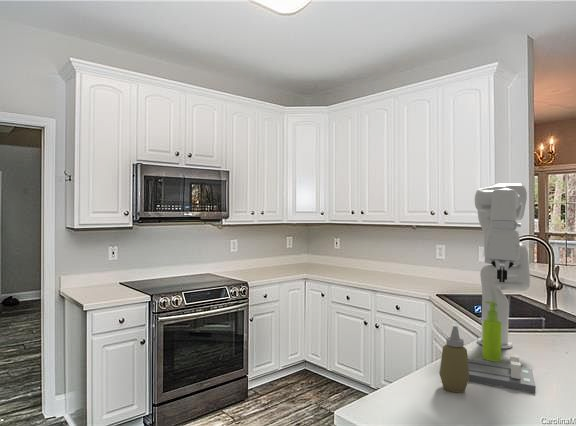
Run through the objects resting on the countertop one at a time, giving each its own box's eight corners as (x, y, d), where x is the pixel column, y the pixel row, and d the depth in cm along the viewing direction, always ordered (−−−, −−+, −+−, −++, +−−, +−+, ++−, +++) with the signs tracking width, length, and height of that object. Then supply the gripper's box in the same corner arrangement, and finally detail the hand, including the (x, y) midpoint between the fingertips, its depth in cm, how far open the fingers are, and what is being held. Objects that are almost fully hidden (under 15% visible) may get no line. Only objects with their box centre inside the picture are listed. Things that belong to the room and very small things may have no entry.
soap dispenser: (493, 355, 154) (494, 300, 154) (504, 361, 147) (505, 304, 147) (478, 354, 154) (479, 300, 154) (487, 361, 147) (488, 304, 147)
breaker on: (509, 366, 135) (510, 353, 135) (518, 367, 134) (519, 355, 134) (510, 369, 132) (510, 356, 132) (519, 370, 131) (519, 357, 131)
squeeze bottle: (433, 385, 124) (434, 324, 124) (454, 382, 127) (455, 322, 127) (453, 396, 116) (455, 331, 116) (475, 392, 119) (476, 329, 120)
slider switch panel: (457, 362, 144) (458, 356, 144) (531, 375, 134) (531, 368, 134) (453, 378, 130) (453, 371, 130) (535, 393, 120) (535, 385, 120)
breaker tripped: (510, 374, 128) (511, 361, 128) (520, 376, 127) (520, 362, 127) (511, 377, 125) (511, 364, 125) (520, 379, 124) (520, 365, 124)
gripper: (528, 227, 139) (527, 282, 139) (478, 225, 146) (477, 278, 146) (529, 227, 132) (528, 285, 132) (477, 225, 139) (476, 281, 139)
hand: (501, 281), depth 139 cm, fingers closed
